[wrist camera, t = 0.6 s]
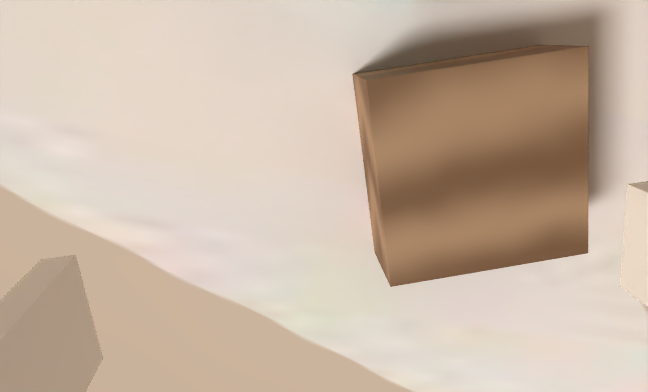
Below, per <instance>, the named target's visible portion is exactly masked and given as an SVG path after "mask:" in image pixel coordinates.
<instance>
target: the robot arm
mask: <svg viewBox="0 0 648 392" xmlns="http://www.w3.org/2000/svg"><path fill="white" fill-rule="evenodd" d="M620 287H622V288H623V289H624V290H626V291H627V292H628V293H630V294H631V295H632V296H634V297H635V298H636V299H638V300H639V301H640V302H642V303H643V304H645V305H646V306H647V307H648V181H647V182H639V183H632V184H627V197H626V211H625V225H624V239H623V253H622V267H621V280H620ZM102 359H103V356H102V352H101V349H100V345H99V341H98V338H97V334H96V330H95V326H94V322H93V319H92V315H91V311H90V307H89V304H88V300H87V296H86V292H85V288H84V285H83V281H82V277H81V273H80V270H79V266H78V262H77V258H76V255H71V256H64V257H56V258H49V259H42V260H40V262H38V263H37V264H36V265H35V266H34V267H33V268H32V269H31V270H30V271H29V272H28V273H27V274H26V275H25V276H24V277H23V278H22V279H21V280H20V281H19V282H18V283H17V284H16V285H15V286H14V287H13V288H12V289H11V290H10V291H9V292H8V293H7V294H6V295H5V296H4V297H3V298H2V299H1V300H0V392H86V390H87V388H88V386H89V384H90V382H91V380H92V378H93V376H94V375H95V373H96V371H97V369H98V367H99V365H100V363H101V361H102Z"/></svg>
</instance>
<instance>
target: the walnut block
mask: <svg viewBox="0 0 648 392" xmlns="http://www.w3.org/2000/svg"><path fill="white" fill-rule="evenodd" d="M588 77H589V46H560V45H539V46H532V47H526V48H519V49H513V50H506V51H500V52H493V53H486V54H480V55H473V56H467V57H460V58H454V59H447V60H441V61H434V62H428V63H421V64H415V65H408V66H402V67H395V68H389V69H382V70H376V71H369V72H362V73H356V74H353V81H354V89H355V97H356V105H357V113H358V121H359V129H360V137H361V145H362V154H363V162H364V170H365V178H366V186H367V194H368V202H369V210H370V218H371V226H372V234H373V242H374V250H375V254H376V256H377V258H378V260H379V263H380V265H381V267H382V269H383V271H384V273H385V276H386V278H387V280H388V282H389V284H390V286H391V287H392V286H398V285H404V284H410V283H415V282H421V281H427V280H433V279H439V278H445V277H451V276H456V275H462V274H468V273H474V272H480V271H486V270H492V269H498V268H503V267H509V266H515V265H521V264H527V263H533V262H539V261H544V260H550V259H556V258H562V257H568V256H574V255H580V254H586V253H588Z"/></svg>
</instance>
